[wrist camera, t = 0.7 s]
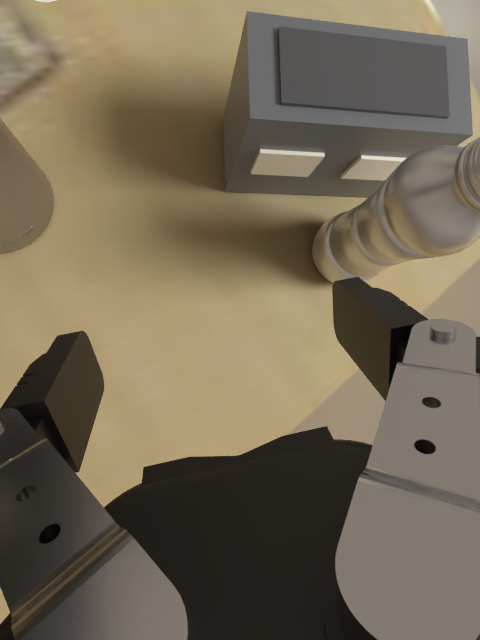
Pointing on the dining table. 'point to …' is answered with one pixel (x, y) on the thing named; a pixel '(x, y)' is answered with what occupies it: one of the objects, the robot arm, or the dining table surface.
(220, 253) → the dining table surface
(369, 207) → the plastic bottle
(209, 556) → the robot arm
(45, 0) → the beverage cup
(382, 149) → the box
